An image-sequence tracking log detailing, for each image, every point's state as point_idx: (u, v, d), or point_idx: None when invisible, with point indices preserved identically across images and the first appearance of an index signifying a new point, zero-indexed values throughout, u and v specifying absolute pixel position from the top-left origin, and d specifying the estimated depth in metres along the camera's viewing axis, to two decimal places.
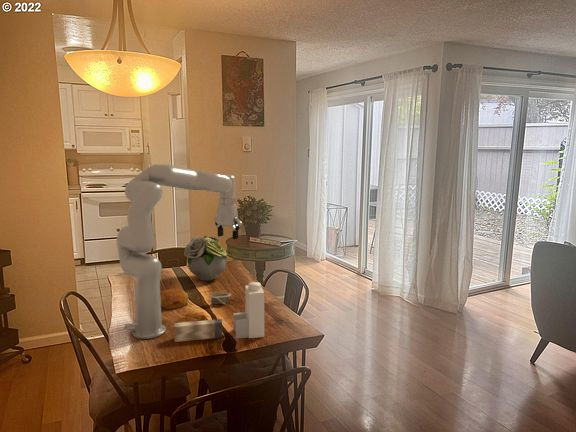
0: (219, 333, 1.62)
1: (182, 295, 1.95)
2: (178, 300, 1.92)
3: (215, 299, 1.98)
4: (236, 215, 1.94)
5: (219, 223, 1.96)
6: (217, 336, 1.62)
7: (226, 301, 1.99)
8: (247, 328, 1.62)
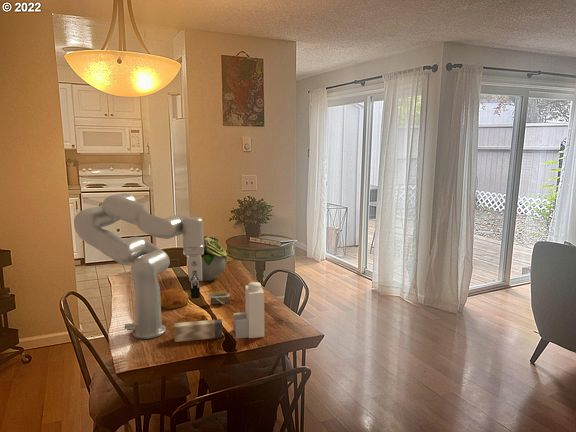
0: (219, 333, 1.62)
1: (182, 295, 1.95)
2: (178, 300, 1.92)
3: (214, 299, 1.98)
4: None
5: None
6: (217, 336, 1.62)
7: (225, 301, 1.99)
8: (247, 328, 1.62)
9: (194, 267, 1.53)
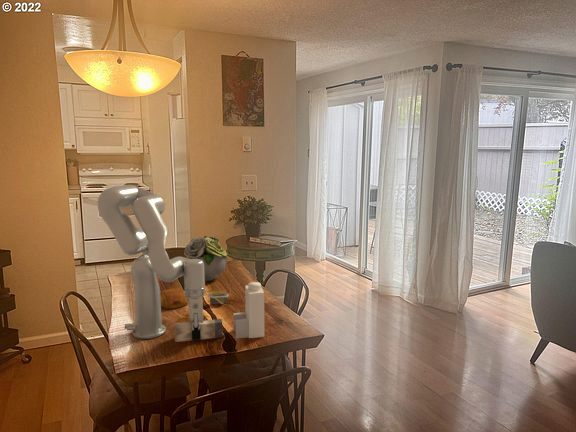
0: (219, 333, 1.62)
1: (182, 295, 1.95)
2: (178, 300, 1.92)
3: (213, 299, 1.98)
4: None
5: None
6: (217, 336, 1.62)
7: (224, 301, 1.99)
8: (247, 328, 1.62)
9: (195, 309, 1.56)
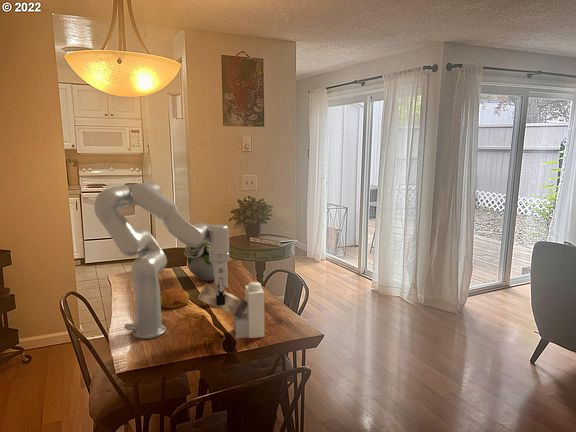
0: (239, 312, 1.63)
1: (183, 295, 1.96)
2: (179, 300, 1.92)
3: None
4: None
5: None
6: (236, 314, 1.63)
7: None
8: (247, 328, 1.62)
9: (220, 274, 1.56)
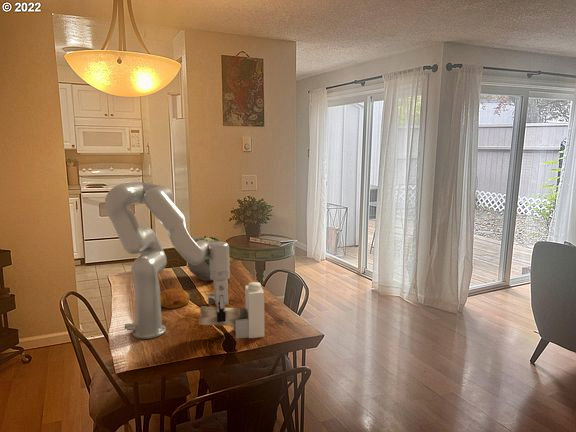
0: None
1: (183, 295, 1.96)
2: (179, 300, 1.92)
3: (212, 299, 1.98)
4: None
5: None
6: None
7: None
8: (247, 328, 1.62)
9: (221, 291, 1.57)
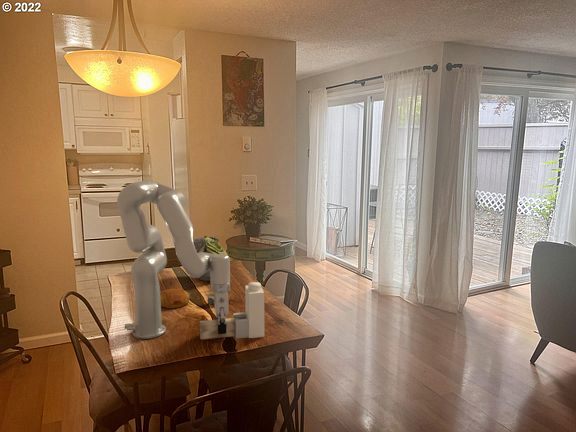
0: None
1: (183, 295, 1.96)
2: (179, 300, 1.92)
3: (211, 299, 1.98)
4: None
5: None
6: None
7: None
8: (247, 328, 1.62)
9: (221, 304, 1.58)
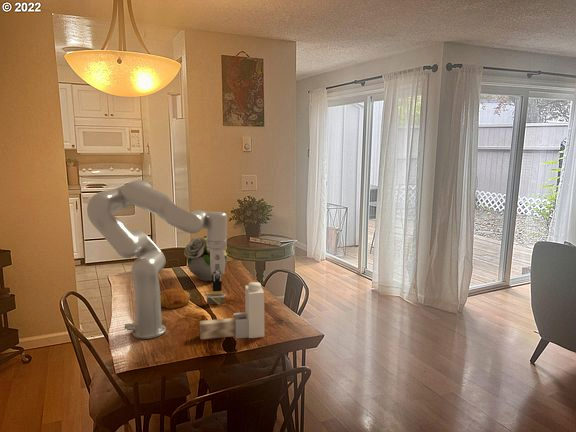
0: None
1: (183, 295, 1.96)
2: (179, 299, 1.92)
3: (210, 299, 1.98)
4: None
5: None
6: None
7: (221, 301, 1.99)
8: (247, 328, 1.62)
9: (217, 261, 1.57)
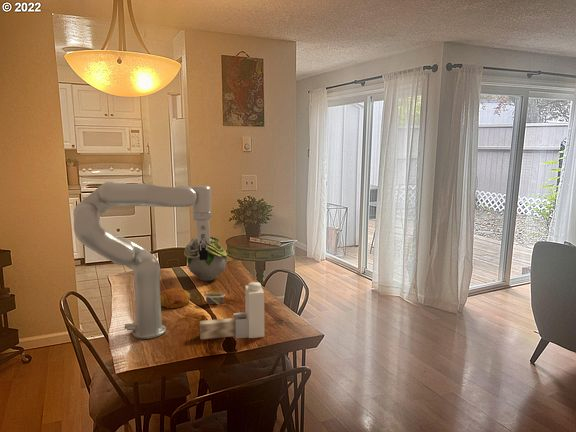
0: None
1: (184, 294, 1.96)
2: (179, 299, 1.93)
3: (210, 299, 1.98)
4: None
5: None
6: None
7: (220, 301, 1.98)
8: (247, 328, 1.62)
9: (203, 231, 1.67)
